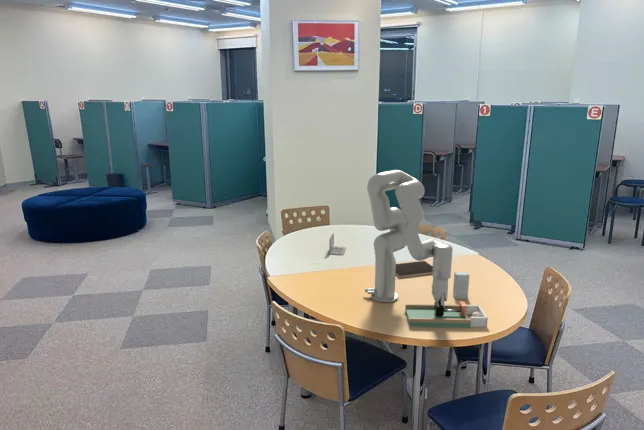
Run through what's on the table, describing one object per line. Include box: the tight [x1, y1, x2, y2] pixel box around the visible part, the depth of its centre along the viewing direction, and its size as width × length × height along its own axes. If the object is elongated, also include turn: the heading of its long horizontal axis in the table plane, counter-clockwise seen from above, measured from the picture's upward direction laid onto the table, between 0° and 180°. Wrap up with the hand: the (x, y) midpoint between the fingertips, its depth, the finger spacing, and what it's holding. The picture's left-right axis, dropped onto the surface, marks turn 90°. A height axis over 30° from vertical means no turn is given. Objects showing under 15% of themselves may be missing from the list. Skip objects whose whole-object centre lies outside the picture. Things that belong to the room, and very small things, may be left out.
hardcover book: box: [395, 260, 433, 279], centre depth 253 cm, size 16×23×2 cm
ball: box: [471, 312, 481, 317], centre depth 198 cm, size 4×4×4 cm
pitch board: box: [404, 303, 472, 329], centre depth 199 cm, size 25×14×4 cm, turn 87°
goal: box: [466, 304, 489, 328], centre depth 198 cm, size 7×12×4 cm, turn 178°
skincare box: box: [452, 271, 470, 299], centre depth 219 cm, size 6×4×12 cm
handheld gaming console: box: [328, 232, 347, 256], centre depth 283 cm, size 13×9×10 cm
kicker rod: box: [434, 299, 467, 317], centre depth 197 cm, size 12×4×7 cm, turn 87°
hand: (438, 312), depth 198 cm, fingers closed on kicker rod, 3 cm apart
